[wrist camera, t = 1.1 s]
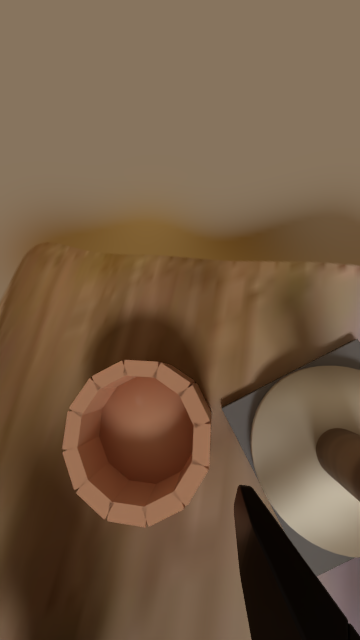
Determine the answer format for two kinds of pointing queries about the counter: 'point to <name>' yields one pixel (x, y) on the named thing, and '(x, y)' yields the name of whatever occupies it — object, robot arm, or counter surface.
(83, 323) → the counter surface
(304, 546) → the mat
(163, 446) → the bowl
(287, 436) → the lid
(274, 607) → the robot arm
